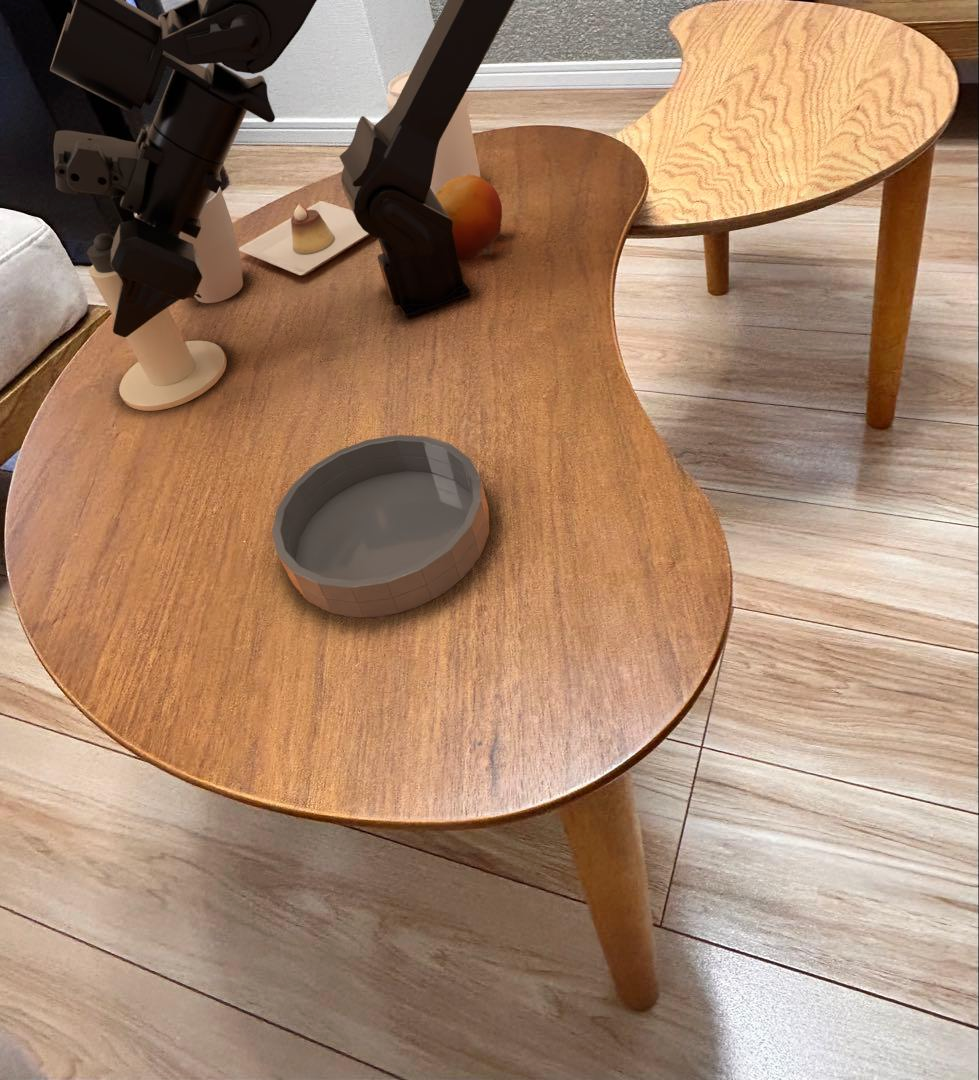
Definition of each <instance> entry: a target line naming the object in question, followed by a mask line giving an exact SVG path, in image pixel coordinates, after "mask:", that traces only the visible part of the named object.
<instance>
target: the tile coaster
mask: <svg viewBox="0 0 979 1080" xmlns="http://www.w3.org/2000/svg"><path fill="white" fill-rule="evenodd" d="M185 343H186V345H187V347H188V349H189V351H190V353H191V355H192V357H193V359H194V361H195V368H194V370H193V372H192V373H191V374H190V375H189V376H187V377H186V378H185V379H183V380H181V381H179V382H177V383H174V384H171V385H166V386H157V385H154V384H152V383H151V382H150V381H149V379H148V377H147V375H146V374H145V372H144V370H143V368H142V367H141V365H140V363H139V361H138V360H137V362H136V363H134V364H133V365H132V366H131V367H130V368H129V369H128V370H127V371H126V373H125V374H124V375H123V377H122V379H121V381H120V383H119V387H118V388H119V390H118V391H119V395H120V398H121V399H122V401H123V402H124V403H125V405H127V406H128V407H130V408H132V409H134V410H138V411H144V412H147V411H148V412H154V411H162V410H167V409H172V408H175V407H179V406H181V405H184V404H187V403H188V402H190V401H192V400H194V399H197V398H198V397H200V396H201V395H203V394H205V393H206V392H207V391H208V390H210V389H211V388H212V387H213V386H215V384H216V383H218V382H219V380H220V379H221V377H222V376H223V374H224V373H225V371H226V368H227V363H228V362H227V360H228V359H227V357H226V353H225V352H224V349H222V347H221V346H219V345H218V344H216V343H214V342H212V341H207V340H187V341H186V340H185Z"/></svg>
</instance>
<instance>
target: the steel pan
mask: <svg viewBox="0 0 979 1080" xmlns="http://www.w3.org/2000/svg"><path fill="white" fill-rule="evenodd" d="M488 504H489V503H488V499H487V496H486V492H485V489H484V485H483V482H482V477H481V476H480V474H479V472H478V470H477V468H476V466H475V464H474V463H473V461H472V459H471V458H470V457H469V456H467V454H465V453H464V452H462V451H461V450H459V448H457V447H455V446H454V445H453V444H451V443H449V442H445V441H442V440H439V439H436V438H433V437H430V436H424V435H405V434H404V435H403V434H396V435H395V434H394V435H389V436H382V437H376V438H370V439H366V440H363V441H360V442H357V443H355V444H352V445H349V446H346V447H344V448H341V449H339V450H336V451H335V452H334V453H332V454H330V455H328V456H327V457H325V458H323V459H322V460H320V461H318V462H317V463H315V464H313V465H312V466H311V467H310V468H308V469H307V470H306V471H305V472H304V473H303V474H302V475H301V476H300V477H299V478H298V479H297V480H296V481H294V483H292V485H291V486H290V487H289V488H288V490H287V492H286V493H285V495H284V496H283V497H282V499H281V501H280V503H279V504H278V506H277V508H276V510H275V515H274V519H273V520H274V521H273V525H272V530H271V535H272V538H273V543H274V548H275V552H276V554H277V557H278V558H279V559H278V560H279V561H280V563H281V564H282V566H283V569H284V570H285V572H286V575H287V576H288V578H289V579H290V582H291V584H292V585H293V586H294V587H295V588H296V590H298V592H299V593H300V594H301V595H302V597H303V598H304V599H305V600H306V601H307V602H308V603H310V604H312V605H314V606H316V607H318V608H319V609H321V610H323V611H326V612H329V613H330V614H334V615H338V616H343V617H349V618H350V617H351V618H363V619H364V618H365V619H367V618H376V617H386V616H391V615H395V614H400V613H404V612H406V611H410V610H412V609H415V608H417V607H420V606H422V605H424V604H427V603H429V602H431V601H433V600H434V599H437V598H438V597H440V596H442V595H443V594H444V593H446V592H447V591H449V590H450V589H451V588H452V587H454V586H455V585H457V583H459V582H461V580H462V579H463V578H464V577H465V576H466V575H467V574H468V573H469V572H470V571H471V569H473V567H474V565H475V564H476V563H477V561H478V560H479V559H480V557H481V556H482V552H483V551H484V549H485V546H486V543H487V540H488V537H489V534H490V509H489V505H488Z"/></svg>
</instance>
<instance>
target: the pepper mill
mask: <svg viewBox="0 0 979 1080" xmlns="http://www.w3.org/2000/svg"><path fill="white" fill-rule="evenodd" d="M114 237H115V236H111V235H110V234H107V233H99V234H98V235H96V236H95V237H94V240H93V244H92V245H91V246H89V248H88V249H87V251H86V255H87V257H88V259H89V260H90V262H91V264H92V265H91V266H90V267H89V269H88V273H89V276H90V277H91V279H92V281H93V283H94V284H95V287H96V288H97V291H98V292H99V294H100V295H101V297H102V299H103V300H104V303H105V304H106V306H107V307H108V309H109V311H110V313H111V315H112V317H113V319H115V314H116V309H117V304H118V298H119V293H120V287H121V282H122V280H121V279H120V277H119V275H118V274H117V273H116V272H115V271H114V270H113V269H112V267H111V264H110V249H111V248H112V244H113V241H114ZM124 338H125V340H126V342H127V344H128V345H129V347H130V349H131V351H132V353H133V354H134V356H135V357H136V359H137V362H138V361H139V363H140V365H141V367H142V368H143V370H144V372H145V374H146V375H147V377H148V379H149V381H150V382H151V383H152V384H154V385H157V386H166V385H171V384H174V383H177V382H179V381H181V380H183V379H185V378H186V377H187V376H189V375H190V374H191V373H192V372H193V370H194V368H195V361H194V359H193V357H192V355H191V353H190V351H189V349H188V347H187V345H186V343H185V342H186V340H185V339H184V337H183V336H182V333H181V332H180V330H179V328H178V326H177V323H176V322H175V320H174V317H173V316H172V313H171V311H170V309H169V307H167V308H166V309H164V310H163V311H161V312H160V313H159V314H157V315H156V316H154V317H153V318H152V319H150V320H149V321H148V322H146V323H145V324H144V325H142V326H141V327H139V328H138V329H137V330H135V331H134V332H133V333H131V334H130V335H129V336H127V337H124Z"/></svg>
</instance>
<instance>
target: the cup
mask: <svg viewBox="0 0 979 1080" xmlns="http://www.w3.org/2000/svg"><path fill="white" fill-rule="evenodd" d="M200 223H201V230H200V232H199V234H198V236H197V238H194V237H192V236H189V235H187V234H185V233H183V232H180V234H179V238H180V239H183V240H185V241H187V242H189V243H192V244H193V245H194V247H195V249H196V252H197V254H198V256H199V258H200V263H201V270H202V277H203V278H202V280H201V282H200V284H199V286H198V289H197V291H196V293H195V295H194V297H193V298H195V299H196V300H197V301H198V302H200V303H203V304H215V303H219V302H220V303H221V302H222V301H226V300H228V299H230V298H232V297H234V296H235V295H236V294H238V293H239V292H240V291H241V289H242V288H243V286H244V280H243V266H242V258H241V254H240V253H241V252H240V251H239V248H240V247H239V244H238V240H237V236H236V231H235V226H234V223H233V220H232V218H231V215H230V212H229V209H228V206H227V202H226V200H225V197H224V194H223V191H222V188H221V186H220V187H219V189H218V191H217V193H215V192H213V191H211V193H210V195H209V198H208V200H207V202H206V204H205V207H204V209H203V211H202V213H201V216H200Z"/></svg>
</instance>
